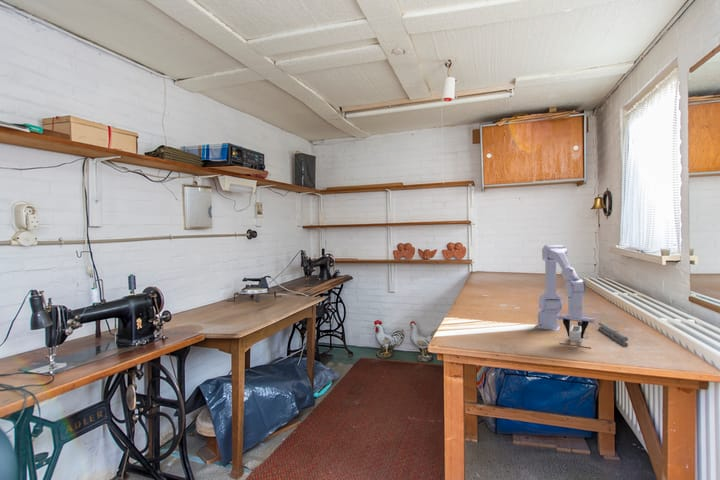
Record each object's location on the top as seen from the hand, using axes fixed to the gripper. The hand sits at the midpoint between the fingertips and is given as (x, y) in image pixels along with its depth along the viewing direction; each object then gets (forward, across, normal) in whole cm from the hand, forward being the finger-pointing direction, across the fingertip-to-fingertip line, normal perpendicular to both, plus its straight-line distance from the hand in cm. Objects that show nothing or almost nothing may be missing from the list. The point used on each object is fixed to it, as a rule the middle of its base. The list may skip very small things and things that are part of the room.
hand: (575, 337), depth 162 cm
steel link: (+1, 0, +3) cm, 3 cm away
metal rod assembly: (+4, +13, +19) cm, 24 cm away
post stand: (+3, 0, +18) cm, 18 cm away
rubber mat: (+3, 0, +3) cm, 5 cm away
